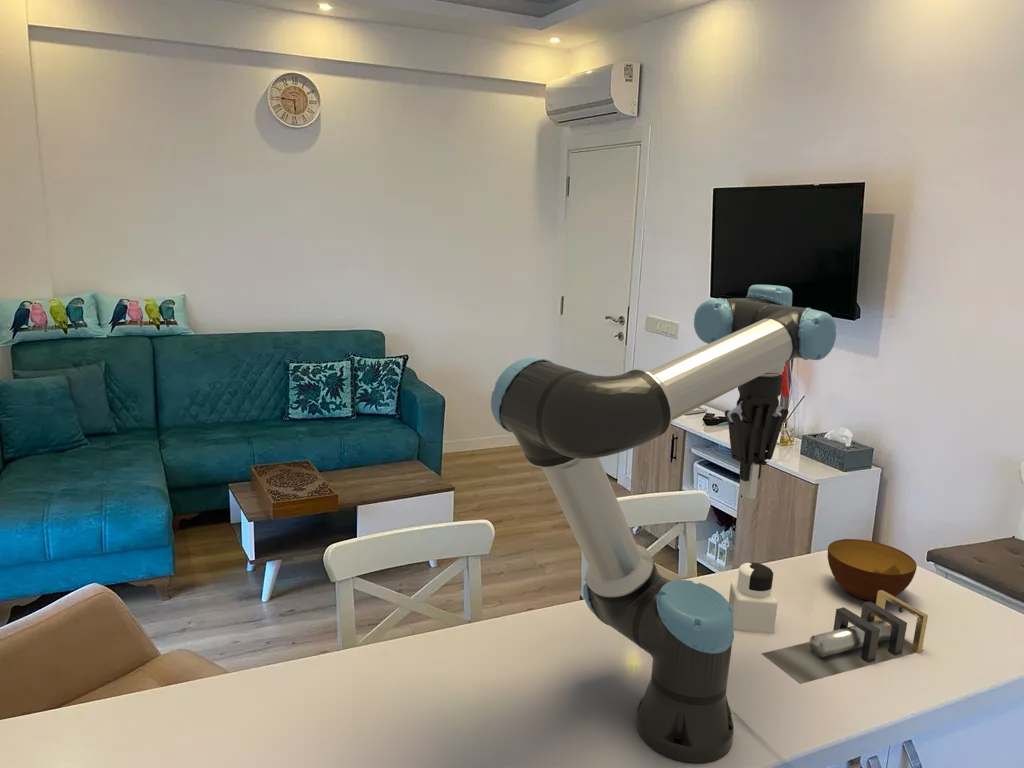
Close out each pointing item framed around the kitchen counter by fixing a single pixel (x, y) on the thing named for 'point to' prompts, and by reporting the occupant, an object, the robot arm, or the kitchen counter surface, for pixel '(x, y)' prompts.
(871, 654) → the collar
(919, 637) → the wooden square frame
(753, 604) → the container
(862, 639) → the tube
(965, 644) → the kitchen counter surface
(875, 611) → the collar
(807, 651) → the board
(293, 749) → the kitchen counter surface
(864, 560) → the bowl
